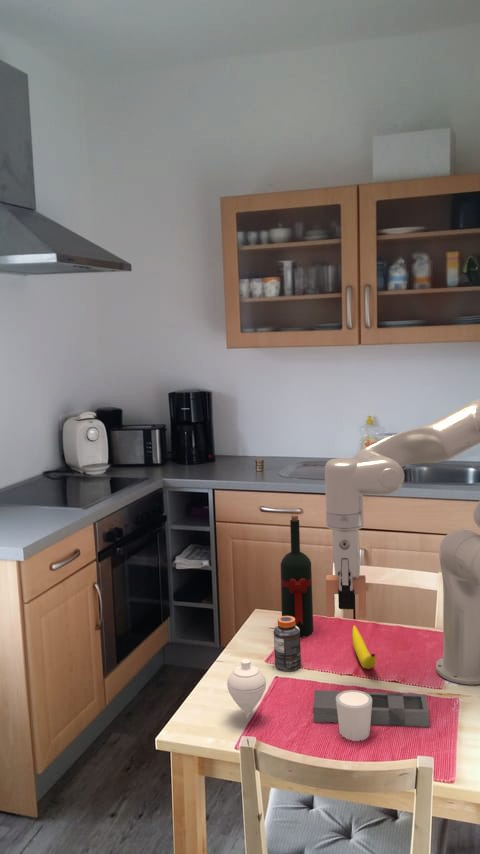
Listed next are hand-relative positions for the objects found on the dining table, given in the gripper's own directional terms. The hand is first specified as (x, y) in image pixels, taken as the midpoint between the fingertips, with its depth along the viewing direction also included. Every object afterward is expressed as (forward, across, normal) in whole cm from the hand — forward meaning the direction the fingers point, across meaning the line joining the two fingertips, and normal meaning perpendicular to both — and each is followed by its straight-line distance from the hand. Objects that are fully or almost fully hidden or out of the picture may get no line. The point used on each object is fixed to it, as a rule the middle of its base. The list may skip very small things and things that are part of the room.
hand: (346, 604), depth 156 cm
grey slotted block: (+19, -10, -4) cm, 22 cm away
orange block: (+2, 0, 0) cm, 2 cm away
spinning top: (+19, -13, +20) cm, 30 cm away
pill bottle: (+19, +10, +14) cm, 26 cm away
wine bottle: (+19, +28, +13) cm, 37 cm away
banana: (+19, +13, -3) cm, 24 cm away
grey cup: (+19, -16, -1) cm, 25 cm away
